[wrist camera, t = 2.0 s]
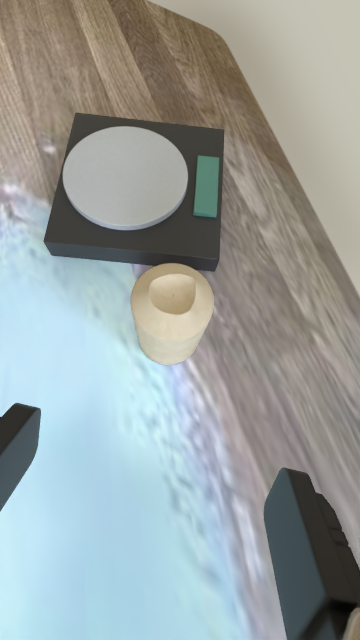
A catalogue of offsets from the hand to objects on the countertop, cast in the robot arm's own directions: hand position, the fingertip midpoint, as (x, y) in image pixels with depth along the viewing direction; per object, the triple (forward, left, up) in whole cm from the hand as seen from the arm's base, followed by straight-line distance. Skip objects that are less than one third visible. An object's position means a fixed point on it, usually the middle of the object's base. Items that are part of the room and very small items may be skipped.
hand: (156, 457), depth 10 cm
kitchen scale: (+4, -24, -17) cm, 29 cm away
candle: (0, -9, -17) cm, 19 cm away
